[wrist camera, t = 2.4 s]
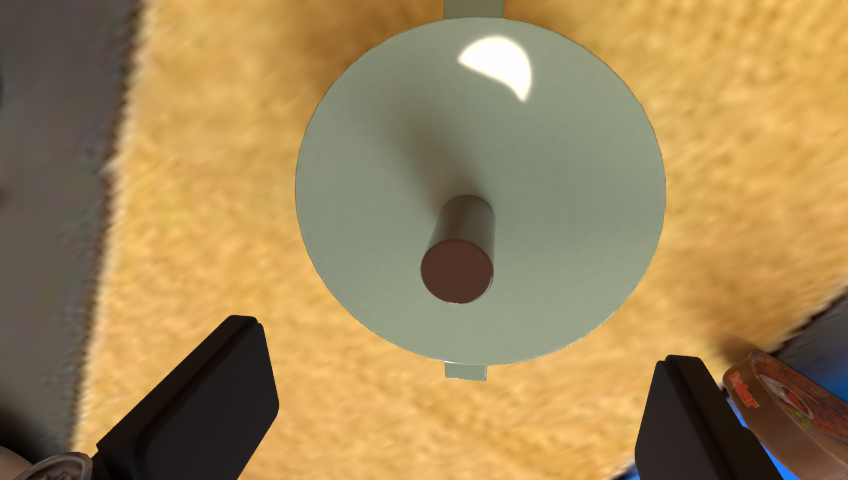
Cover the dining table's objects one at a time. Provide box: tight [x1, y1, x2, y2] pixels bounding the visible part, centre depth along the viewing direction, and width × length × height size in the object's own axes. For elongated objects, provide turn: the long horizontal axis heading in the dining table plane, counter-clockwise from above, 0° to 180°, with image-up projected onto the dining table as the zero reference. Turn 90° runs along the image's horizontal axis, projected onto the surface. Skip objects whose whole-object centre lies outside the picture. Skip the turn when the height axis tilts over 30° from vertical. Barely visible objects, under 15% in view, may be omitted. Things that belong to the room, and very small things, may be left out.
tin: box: [723, 351, 848, 480], centre depth 27 cm, size 15×3×8 cm, turn 59°
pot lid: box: [295, 16, 666, 366], centre depth 18 cm, size 17×17×6 cm
